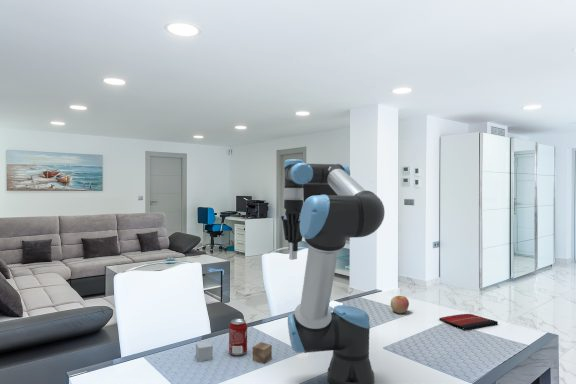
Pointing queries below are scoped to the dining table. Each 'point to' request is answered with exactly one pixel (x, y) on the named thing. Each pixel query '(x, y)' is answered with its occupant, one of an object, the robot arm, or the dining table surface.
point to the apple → (399, 304)
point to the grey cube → (204, 351)
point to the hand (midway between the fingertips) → (293, 259)
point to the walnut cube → (262, 352)
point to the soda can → (238, 337)
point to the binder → (468, 321)
